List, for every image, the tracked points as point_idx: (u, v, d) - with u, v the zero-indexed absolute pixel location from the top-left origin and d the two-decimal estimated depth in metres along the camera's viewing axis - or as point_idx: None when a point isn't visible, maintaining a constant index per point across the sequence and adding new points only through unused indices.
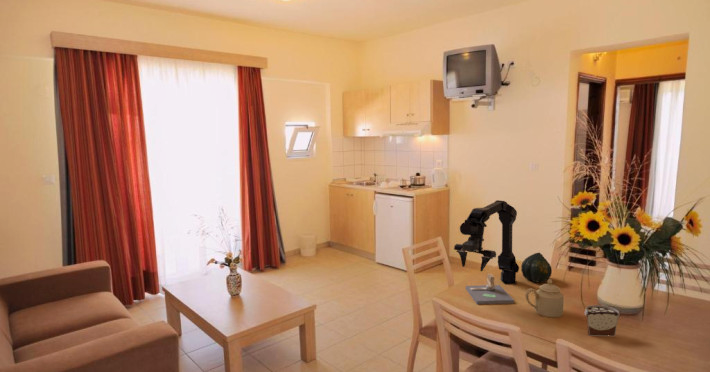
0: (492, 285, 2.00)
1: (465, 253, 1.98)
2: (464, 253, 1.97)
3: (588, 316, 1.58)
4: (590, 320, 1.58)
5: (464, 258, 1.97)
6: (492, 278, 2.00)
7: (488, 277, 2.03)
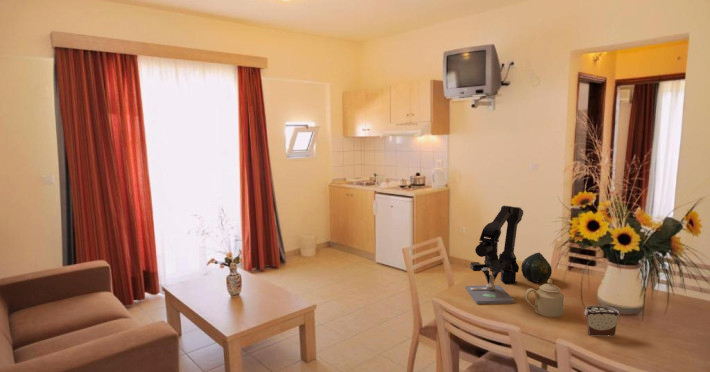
0: (492, 285, 2.00)
1: None
2: None
3: (588, 316, 1.58)
4: (590, 320, 1.58)
5: None
6: (492, 278, 2.00)
7: None
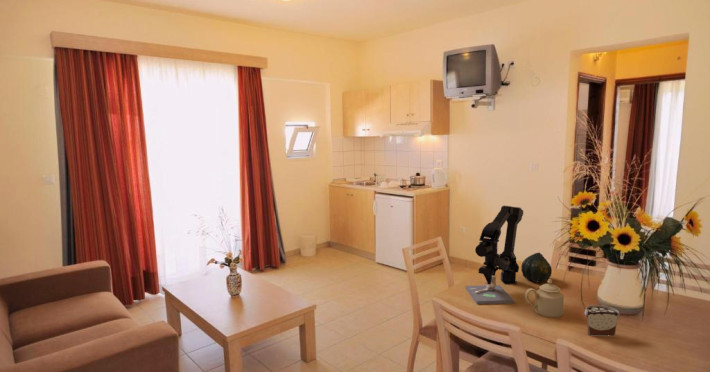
0: (494, 285, 2.00)
1: None
2: None
3: (588, 316, 1.58)
4: (590, 320, 1.58)
5: None
6: (494, 278, 2.00)
7: None
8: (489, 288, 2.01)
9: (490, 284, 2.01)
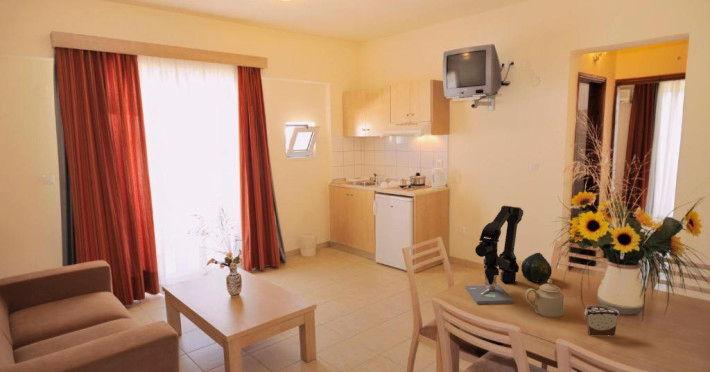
0: (495, 284, 2.01)
1: None
2: None
3: (588, 316, 1.58)
4: (590, 320, 1.58)
5: None
6: (495, 277, 2.00)
7: None
8: (490, 288, 2.01)
9: None
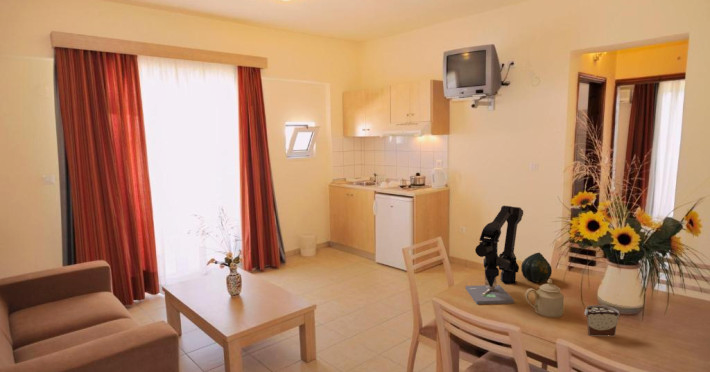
0: (495, 284, 2.01)
1: None
2: None
3: (588, 316, 1.58)
4: (590, 320, 1.58)
5: None
6: (495, 277, 2.01)
7: None
8: (491, 288, 2.01)
9: None
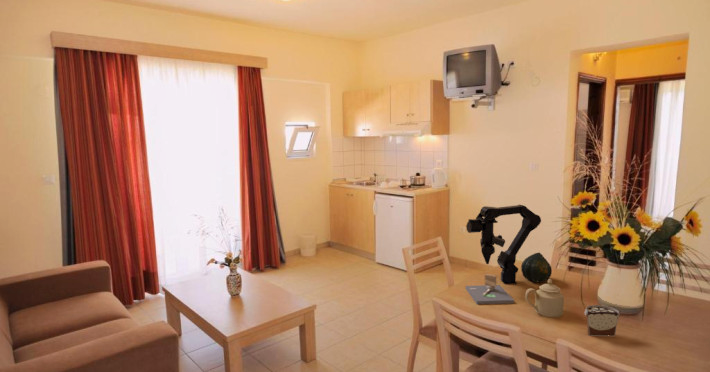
0: (495, 284, 2.01)
1: None
2: None
3: (588, 316, 1.58)
4: (590, 320, 1.58)
5: None
6: (495, 277, 2.01)
7: (488, 278, 2.02)
8: (491, 288, 2.01)
9: (491, 284, 2.01)
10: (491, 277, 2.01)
